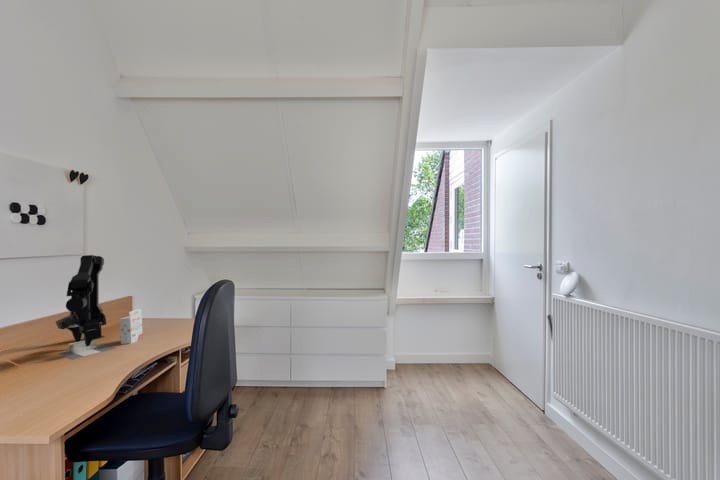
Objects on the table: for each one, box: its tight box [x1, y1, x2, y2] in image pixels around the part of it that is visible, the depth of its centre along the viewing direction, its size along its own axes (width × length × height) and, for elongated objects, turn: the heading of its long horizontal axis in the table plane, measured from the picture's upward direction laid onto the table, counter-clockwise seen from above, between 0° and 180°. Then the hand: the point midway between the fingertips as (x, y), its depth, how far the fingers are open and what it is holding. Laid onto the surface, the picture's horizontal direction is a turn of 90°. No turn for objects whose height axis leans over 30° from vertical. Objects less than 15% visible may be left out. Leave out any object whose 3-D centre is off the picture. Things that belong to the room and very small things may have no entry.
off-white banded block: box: [68, 339, 97, 353], centre depth 153 cm, size 5×8×3 cm, turn 149°
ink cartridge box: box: [119, 308, 144, 345], centre depth 164 cm, size 9×5×15 cm, turn 179°
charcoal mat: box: [56, 343, 117, 360], centre depth 151 cm, size 15×16×1 cm
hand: (82, 344), depth 153 cm, fingers open, 9 cm apart
